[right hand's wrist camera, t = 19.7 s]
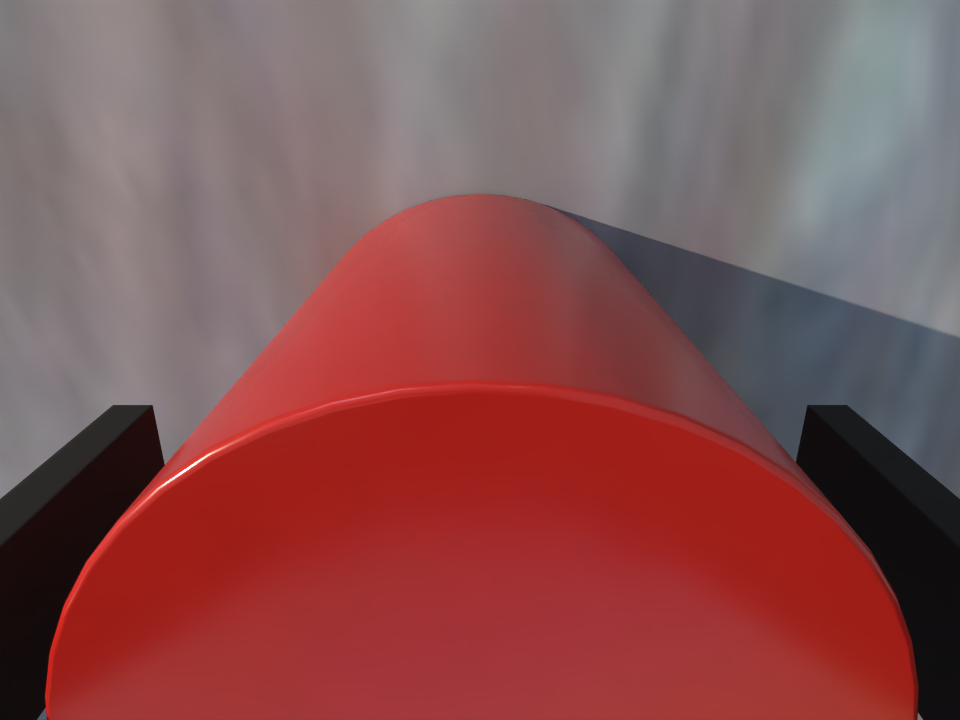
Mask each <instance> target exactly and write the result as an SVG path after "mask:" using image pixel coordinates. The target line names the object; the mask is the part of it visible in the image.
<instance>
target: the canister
mask: <svg viewBox="0 0 960 720" xmlns="http://www.w3.org/2000/svg"><path fill="white" fill-rule="evenodd" d="M918 691H919V686H918V679H917V672H916V665H915V659H914V652H913V645H912V640H911V636H910V633H909V630H908V628H907V625H906V622H905V619H904V616H903V613H902V610H901V608H900V605H899V602H898V599H897V596H896V594H895V592H894V590H893V588H892V587H891V585H890V583H889V581H888V580H887V578H886V576H885V574H884V573H883V571H882V569H881V567H880V566H879V564H878V562H877V560H876V559H875V557H874V555H873V553H872V552H871V550H870V549H869V548H868V547H867V546H866V544H865V543H864V542H863V541H862V540H861V538H860V537H859V536H858V535H857V534H856V532H855V531H854V530H853V529H852V528H851V526H850V525H849V524H848V523H847V522H846V520H845V519H844V518H843V517H842V516H841V514H840V513H839V512H838V511H837V510H836V508H835V507H834V506H833V505H832V504H831V503H830V502H829V500H828V499H827V498H826V497H825V496H824V495H823V493H822V492H821V491H820V490H819V489H818V488H817V487H816V485H815V484H814V483H813V482H812V481H811V480H810V478H809V477H808V476H807V475H806V474H805V473H804V471H803V470H802V469H801V468H800V467H799V466H798V465H797V463H796V462H795V461H794V460H793V459H792V458H791V456H790V455H789V454H788V453H787V452H786V451H785V450H784V448H783V447H782V446H781V445H780V444H779V443H778V441H777V440H776V439H775V438H774V437H773V436H772V435H771V433H770V432H769V431H768V430H767V429H766V428H765V426H764V425H763V424H762V423H761V422H760V421H759V419H758V418H757V417H756V416H755V415H754V414H753V413H752V411H751V410H750V409H749V408H748V407H747V406H746V404H745V403H744V402H743V401H742V400H741V399H740V398H739V396H738V395H737V394H736V393H735V392H734V391H733V389H732V388H731V387H730V386H729V385H728V384H727V382H726V381H725V380H724V379H723V378H722V377H721V376H720V374H719V373H718V372H717V371H716V370H715V369H714V367H713V366H712V365H711V364H710V363H709V362H708V361H707V359H706V358H705V357H704V356H703V355H702V354H701V352H700V351H699V350H698V349H697V348H696V347H695V345H694V344H693V343H692V342H691V341H690V340H689V339H688V337H687V336H686V335H685V334H684V333H683V332H682V330H681V329H680V328H679V327H678V326H677V325H676V324H675V322H674V321H673V320H672V319H671V318H670V317H669V315H668V314H667V313H666V312H665V311H664V310H663V308H662V307H661V306H660V305H659V304H658V303H657V302H656V300H655V299H654V298H653V297H652V296H651V295H650V293H649V292H648V291H647V290H646V289H645V288H644V287H643V285H642V284H641V283H640V282H639V281H638V280H637V278H636V277H635V276H634V275H633V274H632V273H631V271H630V270H629V269H628V268H627V267H626V266H625V265H624V263H623V262H622V261H621V260H620V259H619V258H618V256H617V255H616V254H615V253H614V252H613V251H612V250H611V248H610V247H609V246H608V245H607V244H605V243H604V242H603V241H602V240H601V239H600V238H599V237H598V236H597V235H595V234H594V233H593V232H592V231H591V230H589V229H588V228H586V227H585V226H583V225H582V224H580V223H579V222H577V221H576V220H574V219H573V218H571V217H569V216H567V215H565V214H563V213H561V212H559V211H557V210H555V209H553V208H551V207H548V206H545V205H542V204H539V203H536V202H533V201H530V200H526V199H521V198H516V197H510V196H505V195H491V194H470V195H458V196H450V197H446V198H441V199H437V200H432V201H428V202H426V203H423V204H420V205H417V206H415V207H412V208H409V209H407V210H405V211H403V212H401V213H399V214H397V215H395V216H393V217H391V218H390V219H388V220H386V221H384V222H383V223H381V224H380V225H379V226H377V227H376V228H375V229H373V230H372V231H370V232H369V233H368V234H366V235H365V236H364V237H363V238H362V239H361V240H360V241H359V242H358V243H357V244H356V245H355V246H354V247H353V248H352V249H350V250H349V251H348V253H347V254H346V255H345V256H344V257H343V258H342V260H341V261H340V262H339V263H338V264H337V265H336V267H335V268H334V269H333V270H332V271H331V272H330V274H329V275H328V276H327V277H326V278H325V279H324V281H323V282H322V283H321V284H320V285H319V286H318V288H317V289H316V290H315V291H314V292H313V293H312V295H311V296H310V297H309V298H308V299H307V300H306V302H305V303H304V304H303V305H302V306H301V307H300V309H299V310H298V311H297V312H296V313H295V314H294V316H293V317H292V318H291V319H290V320H289V321H288V323H287V324H286V325H285V326H284V327H283V328H282V330H281V331H280V332H279V333H278V334H277V335H276V337H275V338H274V339H273V340H272V341H271V342H270V344H269V345H268V346H267V347H266V348H265V349H264V351H263V352H262V353H261V354H260V355H259V356H258V357H257V359H256V360H255V361H254V362H253V363H252V364H251V366H250V367H249V368H248V369H247V370H246V371H245V373H244V374H243V375H242V376H241V377H240V378H239V380H238V381H237V382H236V383H235V384H234V385H233V387H232V388H231V389H230V390H229V391H228V392H227V394H226V395H225V396H224V397H223V398H222V399H221V401H220V402H219V403H218V404H217V405H216V406H215V408H214V409H213V410H212V411H211V412H210V413H209V415H208V416H207V417H206V418H205V419H204V420H203V422H202V423H201V424H200V425H199V426H198V427H197V429H196V430H195V431H194V432H193V433H192V434H191V436H190V437H189V438H188V439H187V440H186V441H185V443H184V444H183V445H182V446H181V447H180V448H179V450H178V451H177V452H176V453H175V454H174V455H173V457H172V458H171V459H170V460H169V461H168V462H167V463H166V465H165V466H164V467H163V468H162V469H161V470H160V472H159V473H158V474H157V475H156V476H155V477H154V479H153V480H152V481H151V482H150V483H149V484H148V486H147V487H146V488H145V489H144V490H143V491H142V493H141V494H140V495H139V496H138V497H137V498H136V500H135V501H134V502H133V503H132V504H131V505H130V507H129V508H128V509H127V510H126V511H125V512H124V514H123V515H122V516H121V517H120V518H119V519H118V521H117V522H116V523H115V525H114V526H113V527H112V528H111V530H110V531H109V532H108V534H107V535H106V536H105V538H104V539H103V540H102V541H101V543H100V544H99V545H98V547H97V548H96V549H95V551H94V552H93V553H92V554H91V556H90V557H89V558H88V560H87V561H86V563H85V565H84V567H83V568H82V570H81V572H80V574H79V576H78V578H77V580H76V582H75V584H74V586H73V588H72V590H71V592H70V593H69V595H68V597H67V599H66V601H65V603H64V606H63V609H62V612H61V616H60V619H59V622H58V625H57V629H56V632H55V635H54V639H53V642H52V645H51V649H50V654H49V664H48V673H47V683H46V692H45V702H46V714H47V720H917V715H918Z"/></svg>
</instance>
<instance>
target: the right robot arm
mask: <svg viewBox="0 0 960 720" xmlns="http://www.w3.org/2000/svg"><path fill="white" fill-rule="evenodd" d="M796 463H797V465H798V466H799V467H800V468H801V469H802V470H803V471H804V473H805V474H806V475H807V476H808V477H809V478H810V480H811V481H812V482H813V483H814V484H815V485H816V487H817V488H818V489H819V490H820V491H821V492H822V493H823V495H824V496H825V497H826V498H827V499H828V500H829V502H830V503H831V504H832V505H833V506H834V507H835V508H836V510H837V511H838V512H839V513H840V514H841V516H842V517H843V518H844V519H845V520H846V522H847V523H848V524H849V525H850V526H851V528H852V529H853V530H854V531H855V532H856V534H857V535H858V536H859V537H860V538H861V540H862V541H863V542H864V543H865V544H866V546H867V547H868V548H869V549H870V550H871V552H872V553H873V555H874V557H875V559H876V560H877V562H878V564H879V566H880V567H881V569H882V571H883V573H884V574H885V576H886V578H887V580H888V581H889V583H890V585H891V587H892V588H893V590H894V592H895V594H896V596H897V599H898V602H899V605H900V608H901V610H902V613H903V616H904V619H905V622H906V625H907V628H908V630H909V633H910V636H911V640H912V645H913V652H914V659H915V665H916V672H917V679H918V686H919V691H918V713H919V714H920V716H921V717H922V719H923V720H960V499H959V498H958V497H957V496H955V495H954V494H953V493H952V492H951V491H949V490H948V489H947V488H946V487H945V486H943V485H942V484H941V483H940V482H939V481H937V480H936V479H935V478H934V477H933V476H931V475H930V474H929V473H928V472H927V471H925V470H924V469H923V468H922V467H921V466H919V465H918V464H917V463H916V462H915V461H913V460H912V459H911V458H910V457H909V456H907V455H906V454H905V453H904V452H903V451H901V450H900V449H899V448H898V447H897V446H895V445H894V444H893V443H892V442H891V441H889V440H888V439H887V438H886V437H885V436H883V435H882V434H881V433H880V432H879V431H877V430H876V429H875V428H874V427H872V426H871V425H870V424H869V423H868V422H866V421H865V420H864V419H863V418H862V417H860V416H859V415H858V414H857V413H856V412H854V411H853V410H852V409H851V408H850V407H848V406H847V405H807V410H806V415H805V420H804V425H803V430H802V435H801V440H800V445H799V450H798V455H797V460H796ZM164 466H165V465H164V460H163V455H162V450H161V445H160V440H159V435H158V430H157V425H156V420H155V415H154V410H153V405H113V406H112V407H110V408H109V409H108V410H107V411H106V412H104V413H103V414H102V415H101V416H100V417H98V418H97V419H96V420H95V421H94V422H92V423H91V424H90V425H89V426H88V427H86V428H85V429H84V430H83V431H82V432H80V433H79V434H78V435H77V436H76V437H74V438H73V439H72V440H71V441H70V442H68V443H67V444H66V445H65V446H64V447H62V448H61V449H60V450H59V451H58V452H56V453H55V454H54V455H53V456H52V457H50V458H49V459H48V460H47V461H46V462H44V463H43V464H42V465H41V466H40V467H38V468H37V469H36V470H35V471H33V472H32V473H31V474H30V475H29V476H27V477H26V478H25V479H24V480H23V481H21V482H20V483H19V484H18V485H17V486H15V487H14V488H13V489H12V490H11V491H9V492H8V493H7V494H6V495H5V496H3V497H2V498H1V499H0V720H37V719H38V717H39V716H40V714H41V713H42V712H43V710H44V709H45V707H46V702H45V692H46V683H47V673H48V664H49V654H50V649H51V645H52V642H53V639H54V635H55V632H56V629H57V625H58V622H59V619H60V616H61V612H62V609H63V606H64V603H65V601H66V599H67V597H68V595H69V593H70V592H71V590H72V588H73V586H74V584H75V582H76V580H77V578H78V576H79V574H80V572H81V570H82V568H83V567H84V565H85V563H86V561H87V560H88V558H89V557H90V556H91V554H92V553H93V552H94V551H95V549H96V548H97V547H98V545H99V544H100V543H101V541H102V540H103V539H104V538H105V536H106V535H107V534H108V532H109V531H110V530H111V528H112V527H113V526H114V525H115V523H116V522H117V521H118V519H119V518H120V517H121V516H122V515H123V514H124V512H125V511H126V510H127V509H128V508H129V507H130V505H131V504H132V503H133V502H134V501H135V500H136V498H137V497H138V496H139V495H140V494H141V493H142V491H143V490H144V489H145V488H146V487H147V486H148V484H149V483H150V482H151V481H152V480H153V479H154V477H155V476H156V475H157V474H158V473H159V472H160V470H161V469H162V468H163V467H164Z"/></svg>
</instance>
